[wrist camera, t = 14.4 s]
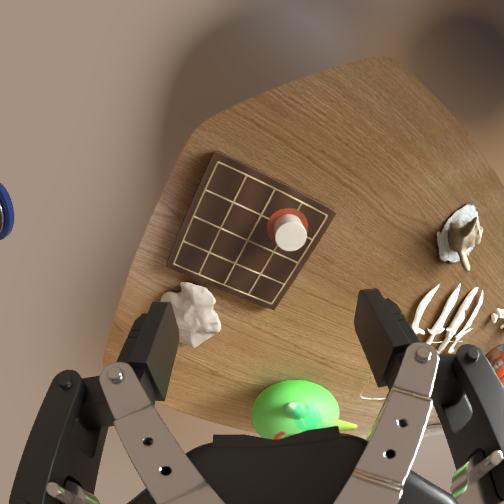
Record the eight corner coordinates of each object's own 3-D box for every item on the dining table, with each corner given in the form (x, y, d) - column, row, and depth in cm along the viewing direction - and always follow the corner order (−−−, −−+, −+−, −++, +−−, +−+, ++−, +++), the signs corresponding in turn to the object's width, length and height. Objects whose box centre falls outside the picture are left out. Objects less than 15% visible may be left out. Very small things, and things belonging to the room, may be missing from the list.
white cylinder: (268, 234, 39) (269, 243, 36) (282, 208, 37) (284, 216, 35) (293, 246, 40) (296, 256, 37) (308, 221, 38) (312, 230, 36)
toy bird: (238, 396, 58) (236, 454, 45) (279, 351, 51) (287, 418, 38) (304, 413, 62) (311, 464, 49) (349, 374, 55) (367, 430, 42)
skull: (436, 265, 45) (454, 284, 40) (435, 212, 39) (457, 230, 34) (473, 243, 43) (491, 260, 38) (475, 191, 37) (497, 206, 32)
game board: (167, 261, 43) (165, 266, 41) (215, 150, 35) (214, 151, 34) (273, 304, 46) (274, 311, 45) (334, 209, 39) (337, 212, 38)
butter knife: (457, 425, 78) (462, 422, 77) (420, 429, 73) (426, 425, 72) (456, 424, 78) (461, 420, 77) (420, 428, 74) (426, 424, 73)
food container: (466, 370, 60) (481, 396, 50) (505, 332, 54) (523, 356, 45) (476, 383, 64) (489, 405, 55) (510, 350, 59) (526, 371, 49)
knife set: (497, 286, 46) (500, 288, 45) (430, 390, 62) (432, 393, 61) (421, 276, 44) (424, 280, 43) (353, 399, 60) (354, 402, 59)
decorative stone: (180, 264, 43) (149, 320, 50) (170, 277, 40) (140, 333, 46) (240, 302, 44) (199, 351, 51) (235, 317, 41) (193, 365, 48)
